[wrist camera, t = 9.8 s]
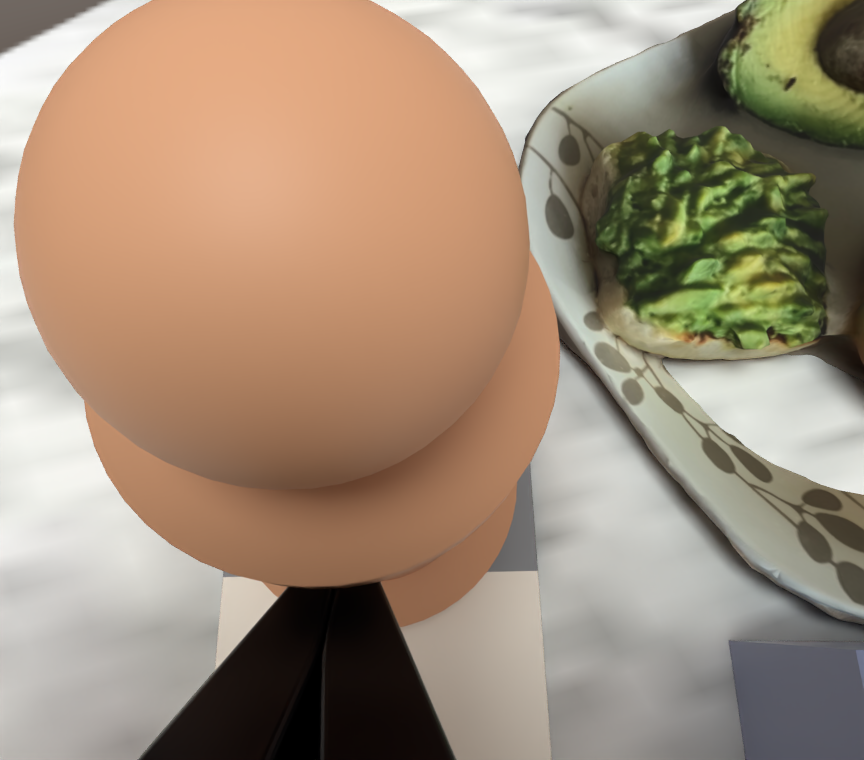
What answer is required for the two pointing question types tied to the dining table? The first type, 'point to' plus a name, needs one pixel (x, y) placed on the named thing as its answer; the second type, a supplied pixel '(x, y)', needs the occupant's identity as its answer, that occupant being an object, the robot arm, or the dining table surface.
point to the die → (800, 699)
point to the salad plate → (718, 254)
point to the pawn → (293, 292)
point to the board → (462, 649)
